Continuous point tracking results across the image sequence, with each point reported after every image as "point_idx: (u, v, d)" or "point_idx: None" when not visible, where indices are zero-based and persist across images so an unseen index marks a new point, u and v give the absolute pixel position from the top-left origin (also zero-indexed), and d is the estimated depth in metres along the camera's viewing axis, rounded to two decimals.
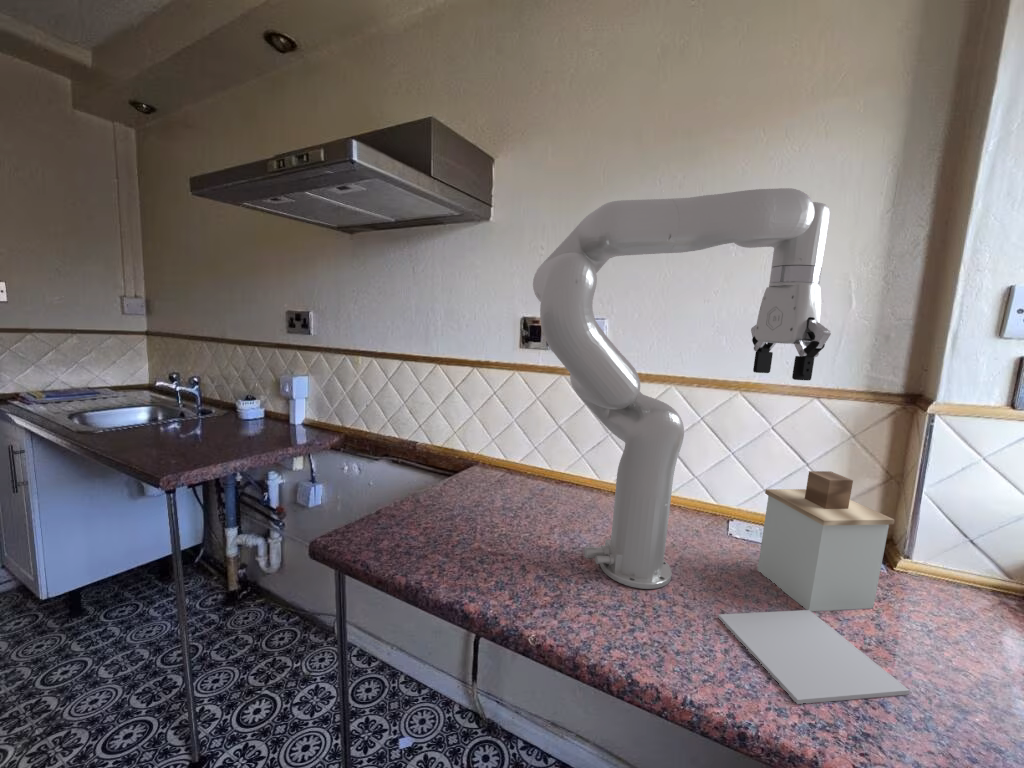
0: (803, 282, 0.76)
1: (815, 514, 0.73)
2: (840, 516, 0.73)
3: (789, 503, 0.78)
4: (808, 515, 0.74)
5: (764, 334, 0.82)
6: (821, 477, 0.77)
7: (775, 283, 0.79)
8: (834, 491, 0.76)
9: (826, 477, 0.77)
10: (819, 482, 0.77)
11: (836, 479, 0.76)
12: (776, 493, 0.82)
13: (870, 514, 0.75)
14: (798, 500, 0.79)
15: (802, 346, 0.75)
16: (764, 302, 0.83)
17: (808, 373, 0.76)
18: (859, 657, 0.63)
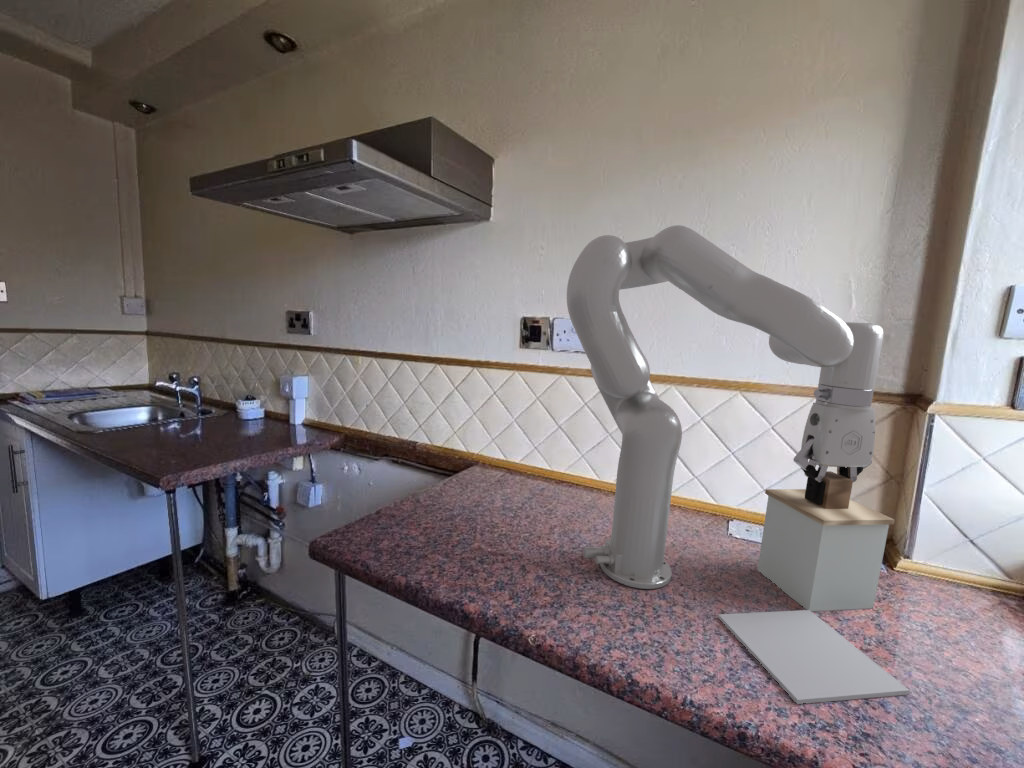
0: None
1: (815, 514, 0.73)
2: (840, 516, 0.73)
3: (789, 503, 0.78)
4: (808, 515, 0.74)
5: (838, 459, 0.74)
6: None
7: (863, 407, 0.72)
8: (834, 491, 0.76)
9: (826, 477, 0.77)
10: None
11: (836, 479, 0.76)
12: (776, 493, 0.82)
13: (870, 514, 0.75)
14: (798, 500, 0.79)
15: (856, 473, 0.77)
16: (835, 424, 0.73)
17: None
18: (859, 657, 0.63)
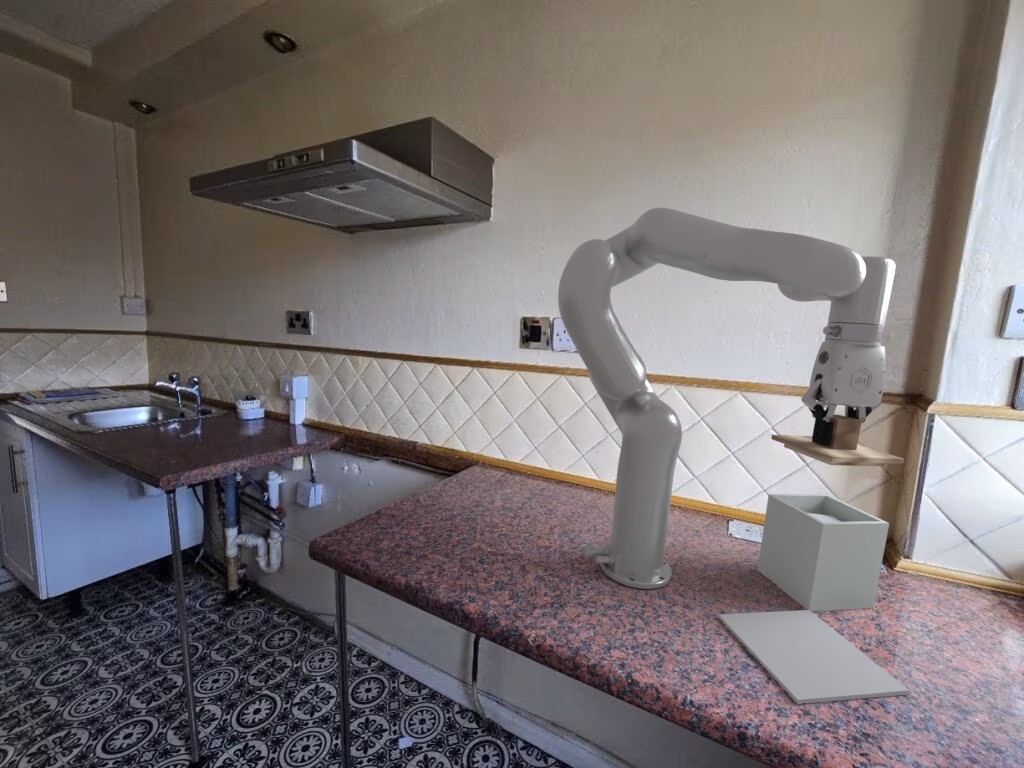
0: None
1: (823, 452, 0.72)
2: (848, 454, 0.72)
3: (796, 445, 0.77)
4: (816, 454, 0.72)
5: (847, 397, 0.73)
6: None
7: (874, 343, 0.71)
8: (842, 431, 0.74)
9: (834, 417, 0.75)
10: None
11: (844, 419, 0.74)
12: (782, 437, 0.80)
13: (878, 454, 0.73)
14: (805, 443, 0.78)
15: (865, 414, 0.75)
16: (845, 361, 0.72)
17: None
18: (859, 657, 0.63)
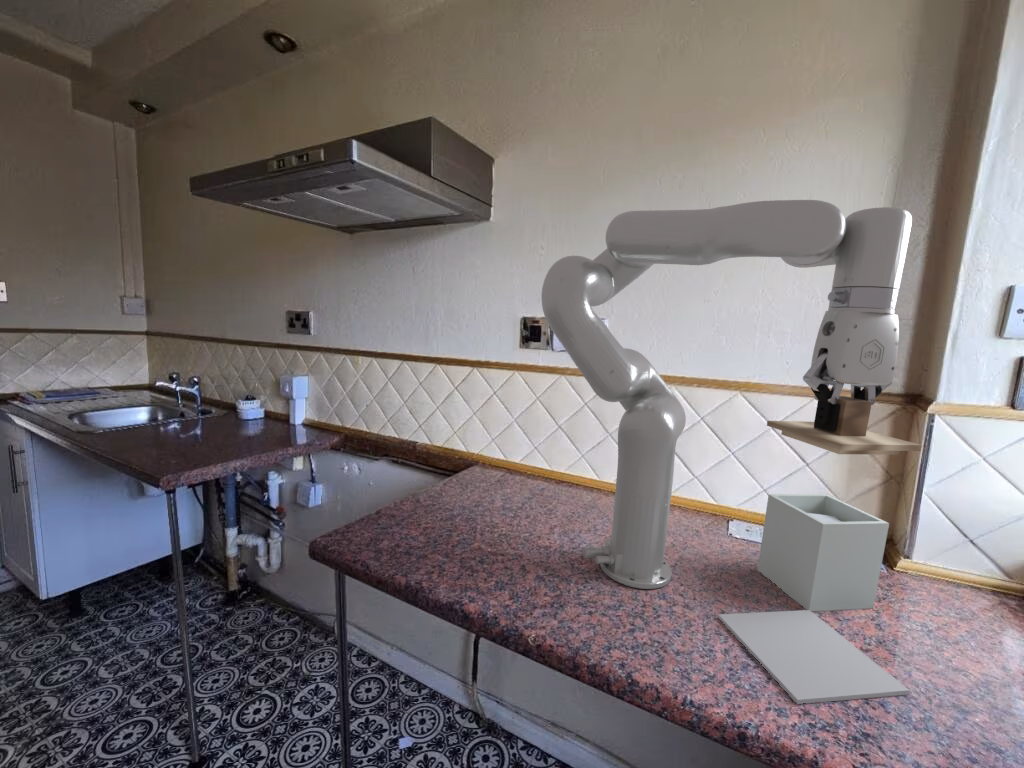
0: None
1: (830, 439, 0.61)
2: (859, 441, 0.61)
3: (797, 431, 0.66)
4: (822, 442, 0.62)
5: (856, 374, 0.62)
6: None
7: (887, 310, 0.60)
8: (850, 414, 0.64)
9: (841, 399, 0.64)
10: None
11: (853, 400, 0.64)
12: (780, 423, 0.69)
13: (892, 440, 0.63)
14: (807, 429, 0.67)
15: (875, 394, 0.65)
16: (854, 332, 0.61)
17: None
18: (859, 657, 0.63)
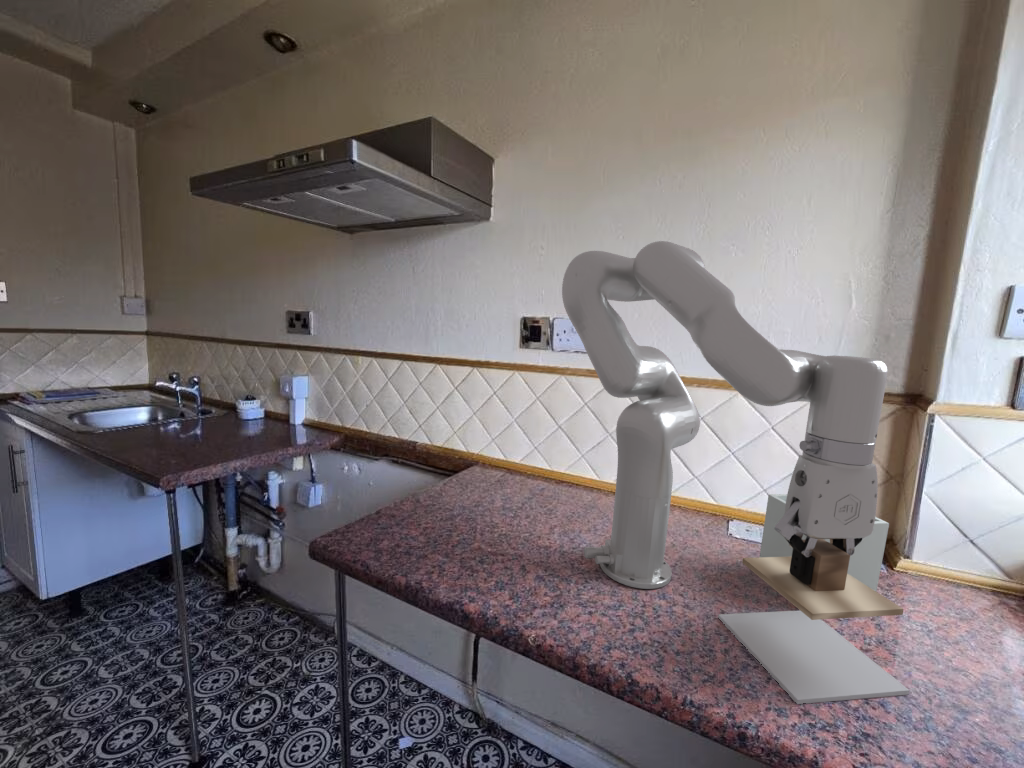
0: None
1: (802, 602, 0.57)
2: (834, 605, 0.57)
3: (770, 581, 0.62)
4: (793, 603, 0.58)
5: (831, 530, 0.58)
6: None
7: (862, 466, 0.56)
8: (826, 569, 0.60)
9: (816, 550, 0.61)
10: None
11: (829, 554, 0.60)
12: (755, 564, 0.66)
13: (872, 599, 0.59)
14: (782, 576, 0.63)
15: (854, 544, 0.61)
16: (827, 487, 0.57)
17: None
18: (859, 657, 0.63)
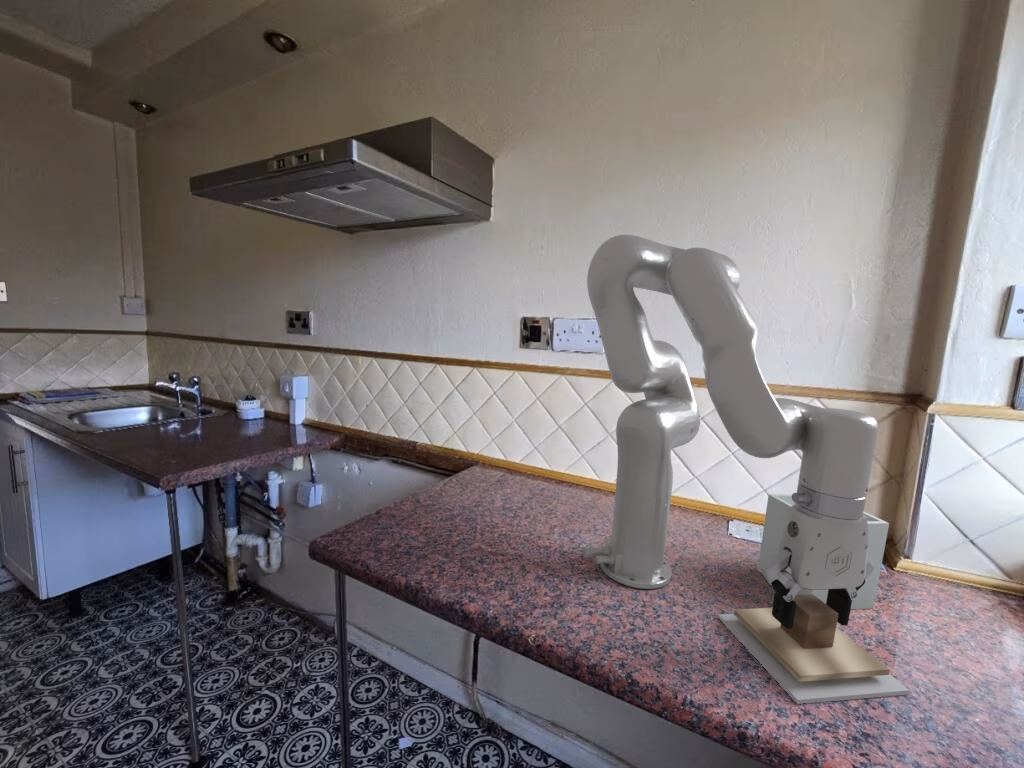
0: None
1: (790, 662, 0.59)
2: (821, 665, 0.58)
3: (760, 637, 0.63)
4: (782, 662, 0.59)
5: (822, 581, 0.59)
6: (799, 607, 0.62)
7: (853, 520, 0.57)
8: (815, 627, 0.61)
9: (805, 608, 0.62)
10: (797, 613, 0.63)
11: (817, 612, 0.61)
12: (746, 617, 0.67)
13: (859, 658, 0.60)
14: (772, 631, 0.64)
15: (855, 587, 0.62)
16: (818, 540, 0.58)
17: None
18: None
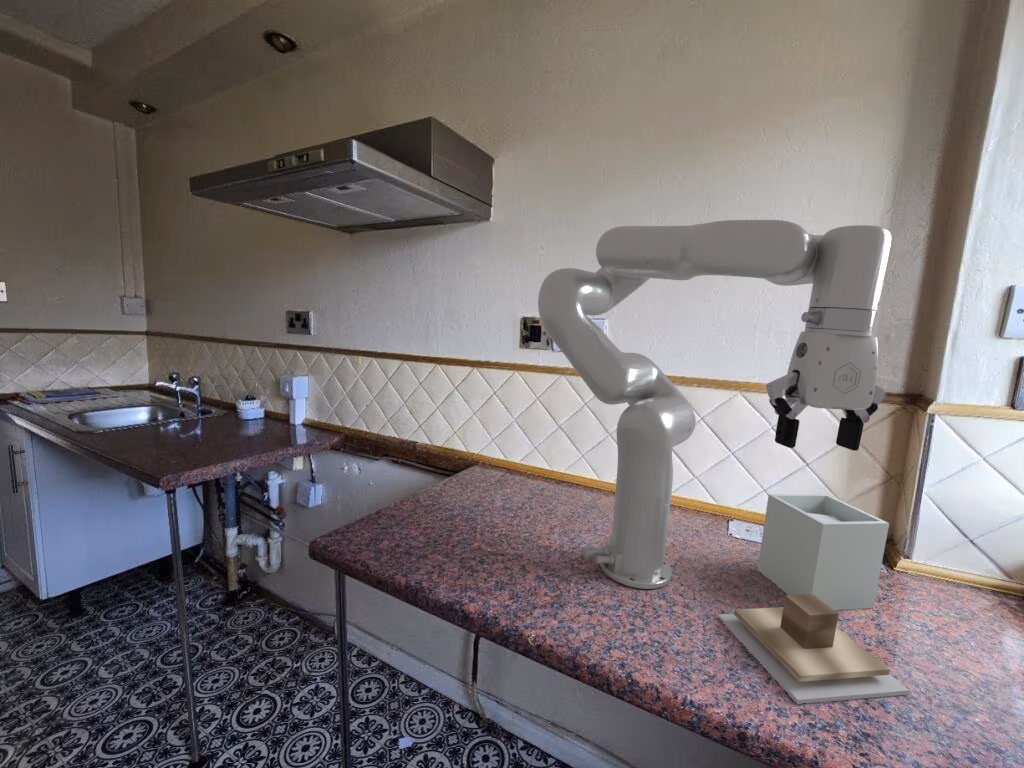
0: None
1: (790, 662, 0.59)
2: (821, 665, 0.58)
3: (760, 637, 0.63)
4: (782, 662, 0.59)
5: (829, 398, 0.60)
6: (799, 607, 0.62)
7: (862, 333, 0.58)
8: (815, 627, 0.61)
9: (805, 608, 0.62)
10: (797, 613, 0.63)
11: (817, 612, 0.61)
12: (746, 617, 0.67)
13: (859, 658, 0.60)
14: (772, 631, 0.64)
15: (866, 411, 0.62)
16: (827, 354, 0.59)
17: None
18: None
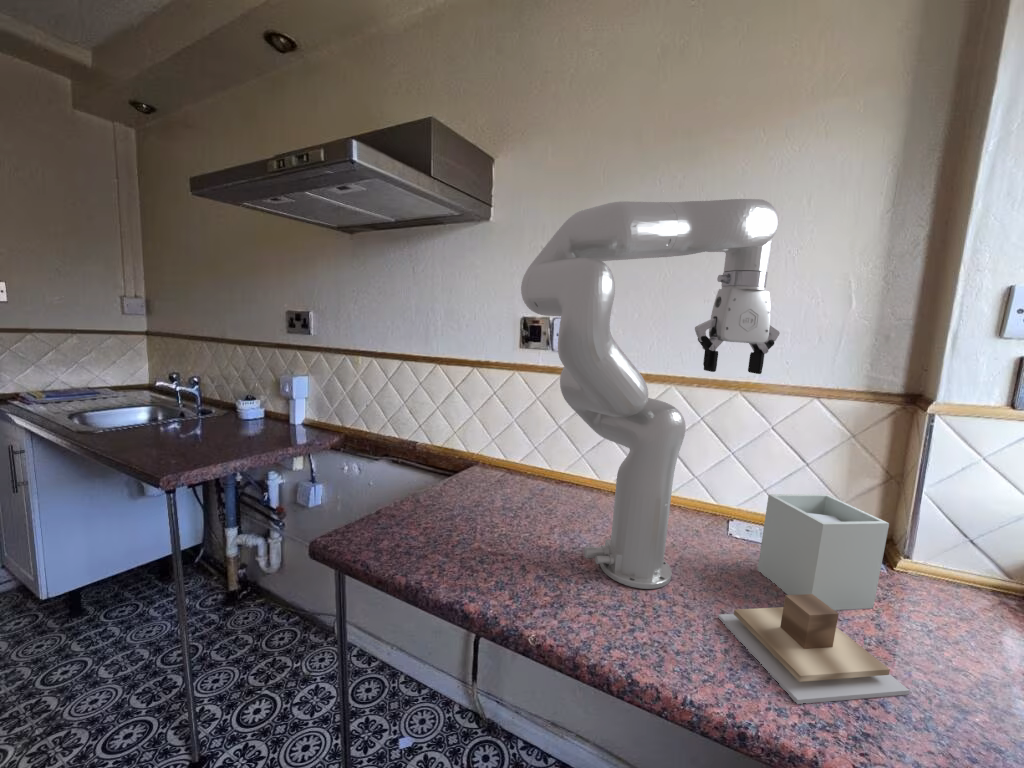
0: None
1: (790, 662, 0.59)
2: (821, 665, 0.58)
3: (760, 637, 0.63)
4: (782, 662, 0.59)
5: (737, 334, 0.85)
6: (799, 607, 0.62)
7: (757, 287, 0.83)
8: (815, 627, 0.61)
9: (805, 608, 0.62)
10: (797, 613, 0.63)
11: (817, 612, 0.61)
12: (746, 617, 0.67)
13: (859, 658, 0.60)
14: (772, 631, 0.64)
15: (765, 345, 0.88)
16: (734, 303, 0.84)
17: None
18: None
